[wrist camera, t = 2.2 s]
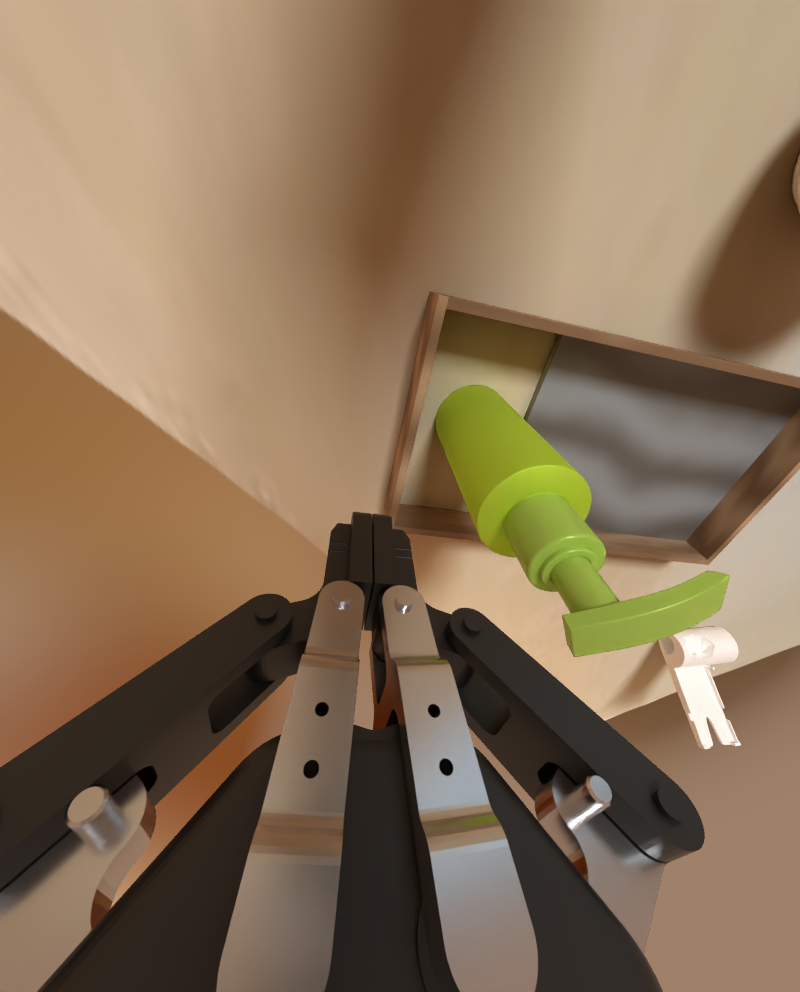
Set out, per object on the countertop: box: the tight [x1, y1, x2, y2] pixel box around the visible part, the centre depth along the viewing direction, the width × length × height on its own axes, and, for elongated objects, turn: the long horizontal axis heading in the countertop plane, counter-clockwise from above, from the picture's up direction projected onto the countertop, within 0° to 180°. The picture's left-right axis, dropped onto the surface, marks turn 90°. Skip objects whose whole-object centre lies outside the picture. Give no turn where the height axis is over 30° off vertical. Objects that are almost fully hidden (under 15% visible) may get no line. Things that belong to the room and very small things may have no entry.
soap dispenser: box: [436, 385, 730, 657], centre depth 20 cm, size 6×7×20 cm
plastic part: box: [658, 626, 741, 749], centre depth 46 cm, size 8×10×12 cm
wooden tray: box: [384, 292, 800, 565], centre depth 29 cm, size 18×34×4 cm, turn 79°
